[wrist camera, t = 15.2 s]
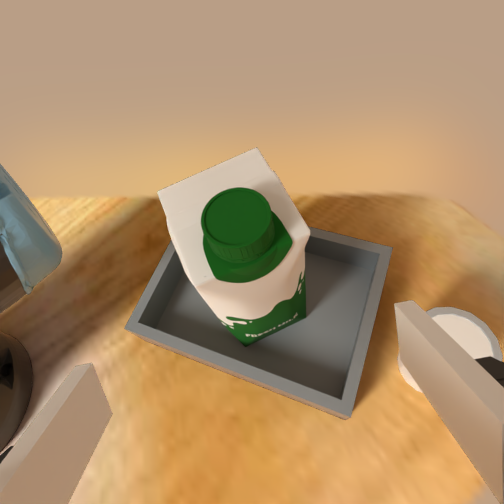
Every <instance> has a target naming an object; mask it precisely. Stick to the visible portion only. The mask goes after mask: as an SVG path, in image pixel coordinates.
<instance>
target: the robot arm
mask: <svg viewBox="0 0 504 504" xmlns="http://www.w3.org/2000/svg"><path fill="white" fill-rule="evenodd" d="M61 258H62V248H61V245H60V243H59V241H58V239H57V237H56V236H55V234H54V233H53V231H52V230H51V228H50V227H49V225H48V224H47V222H46V221H45V220H44V218H43V217H42V216H41V214H40V213H39V212H38V210H37V209H36V208H35V206H34V205H33V204H32V202H31V201H30V200H29V198H28V197H27V196H26V195H25V193H24V192H23V191H22V190H21V188H20V187H19V186H18V185H17V183H16V182H15V181H14V180H13V178H12V177H11V176H10V175H9V173H8V172H7V171H6V170H5V169H4V168H3V166H2V165H1V164H0V313H2V312H3V311H4V310H6V309H7V308H8V307H10V306H11V305H12V304H14V303H15V302H16V301H18V300H19V299H20V298H22V297H23V296H24V295H26V294H30V293H31V291H32V290H33V287H34V286H35V285H37V284H38V283H39V282H40V281H41V280H43V279H44V278H45V277H46V276H47V275H49V274H50V273H51V272H52V271H53V270H55V269H56V268H57V266H58V265H59V264H60V262H61ZM394 306H395V315H396V325H397V334H398V344H399V353H400V360H401V362H402V363H403V365H404V366H405V367H406V369H407V370H408V372H409V373H410V375H411V376H412V377H413V379H414V380H415V382H416V383H417V385H418V386H419V388H420V389H421V390H422V392H423V393H424V395H425V396H426V398H427V399H428V400H429V402H430V403H431V405H432V406H433V408H434V409H435V411H436V412H437V413H438V415H439V416H440V418H441V419H442V421H443V422H444V424H445V425H446V426H447V428H448V429H449V431H450V432H451V434H452V435H453V436H454V438H455V439H456V441H457V442H458V444H459V445H460V447H461V448H462V449H463V451H464V452H465V454H466V455H467V457H468V458H469V460H470V461H471V462H472V464H473V465H474V467H475V468H476V470H477V471H478V472H479V474H480V475H481V477H482V478H483V480H484V481H485V483H486V484H487V485H488V487H489V488H490V490H491V491H492V493H493V494H494V496H495V497H496V498H497V500H498V501H499V503H500V504H504V362H502V361H499V360H497V359H495V358H493V357H491V356H489V357H483V358H478V359H473V358H472V357H471V356H470V355H469V354H468V353H467V352H466V351H465V350H464V349H463V348H462V347H461V346H460V345H459V344H458V343H457V342H456V341H455V340H454V339H453V338H452V337H451V336H450V335H449V334H448V333H446V332H445V331H444V330H443V329H442V328H441V327H440V326H439V325H438V324H437V323H436V322H435V321H434V320H433V319H432V318H431V317H430V316H429V315H428V314H427V313H426V312H425V311H424V310H423V309H422V308H421V307H420V306H419V305H417V304H416V303H415V302H414V301H413V300H410V301H404V302H399V303H394ZM31 389H32V367H31V362H30V359H29V356H28V354H27V352H26V350H25V348H24V347H23V346H22V344H21V343H20V342H19V341H18V340H16V339H15V338H14V337H12V336H10V335H8V334H5V333H2V332H0V451H1V450H2V449H3V448H4V446H5V445H6V444H7V443H8V441H9V440H10V439H11V437H12V436H13V434H14V433H15V431H16V430H17V428H18V426H19V424H20V423H21V421H22V418H23V416H24V414H25V412H26V409H27V406H28V403H29V399H30V395H31ZM112 414H113V413H112V411H111V408H110V406H109V404H108V401H107V399H106V396H105V394H104V391H103V389H102V386H101V384H100V381H99V379H98V376H97V374H96V371H95V369H94V366H93V364H92V363H88V364H83V365H78V366H75V367H74V368H73V370H72V371H71V372H70V374H69V375H68V376H67V378H66V379H65V380H64V382H63V383H62V384H61V385H60V387H59V388H58V389H57V391H56V392H55V393H54V395H53V396H52V397H51V398H50V400H49V401H48V402H47V404H46V405H45V406H44V408H43V409H42V410H41V411H40V413H39V414H38V415H37V417H36V418H35V419H34V421H33V422H32V423H31V425H30V426H29V427H28V428H27V430H26V431H25V432H24V434H23V435H22V436H21V438H20V439H19V440H18V441H17V443H16V444H15V445H14V446H11V447H9V448H8V449H7V450H6V451H5V452H4V453H3V454H1V455H0V504H68V503H69V501H70V499H71V497H72V495H73V493H74V491H75V489H76V487H77V485H78V483H79V481H80V479H81V476H82V474H83V472H84V470H85V468H86V466H87V464H88V462H89V460H90V458H91V456H92V454H93V452H94V450H95V448H96V446H97V444H98V442H99V440H100V438H101V436H102V434H103V432H104V430H105V428H106V426H107V424H108V422H109V420H110V418H111V416H112Z"/></svg>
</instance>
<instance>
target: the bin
mask: <svg viewBox="0 0 504 504" xmlns="http://www.w3.org/2000/svg"><path fill="white" fill-rule="evenodd" d="M308 228H309V229H310V233H311V234H310V236H309V239H308V241H307V243H306V246H305V285H306V318H305V319H303V320H301V321H299V322H297V323H294V324H292V325H290V326H288V327H286V328H284V329H282V330H280V331H278V332H276V333H274V334H272V335H270V336H268V337H266V338H264V339H261V340H259V341H257V342H255V343H253V344H251V345H249V346H247V347H245V346H244V345H243V344H242V343H241V342H240V341H239V340H238V339H237V338H236V337H235V336H234V335H233V334H232V333H231V332H230V331H229V330H228V329H227V328H226V327H225V326H224V325H223V323H222V322H221V321H220V320H219V318H218V317H217V316H216V314H215V313H214V312H213V311H212V309H211V308H210V307H209V306H208V304H207V303H206V302H205V300H204V299H203V298H202V297H201V295H200V294H199V293H198V291H197V290H196V288H195V287H194V285H193V284H192V283H191V281H190V280H189V278H188V277H187V275H186V273H185V271H184V268H183V266H182V263H181V261H180V258H179V256H178V254H177V252H176V249H175V247H174V244H173V242H172V239H171V241H170V243H169V245H168V247H167V249H166V251H165V252H164V254H163V256H162V258H161V260H160V262H159V264H158V266H157V268H156V269H155V271H154V273H153V275H152V277H151V279H150V281H149V283H148V285H147V287H146V288H145V290H144V292H143V294H142V296H141V298H140V300H139V302H138V304H137V305H136V307H135V309H134V311H133V313H132V315H131V317H130V319H129V321H128V322H127V324H126V326H125V328H124V329H126V330H128V331H129V332H131V333H133V334H134V335H136V336H138V337H140V338H141V339H143V340H145V341H147V342H150V343H152V344H155V345H157V346H160V347H162V348H165V349H167V350H170V351H172V352H175V353H177V354H180V355H182V356H185V357H188V358H190V359H193V360H195V361H198V362H200V363H203V364H205V365H208V366H210V367H213V368H215V369H218V370H220V371H223V372H225V373H228V374H230V375H233V376H235V377H238V378H241V379H243V380H246V381H248V382H251V383H253V384H256V385H258V386H261V387H263V388H266V389H268V390H271V391H273V392H276V393H278V394H281V395H283V396H286V397H288V398H291V399H294V400H296V401H299V402H301V403H304V404H306V405H309V406H311V407H314V408H316V409H319V410H321V411H324V412H326V413H329V414H331V415H334V416H336V417H339V418H341V419H344V420H346V419H348V418H351V414H352V410H353V406H354V402H355V398H356V394H357V390H358V386H359V382H360V378H361V374H362V370H363V366H364V362H365V358H366V354H367V350H368V346H369V342H370V338H371V334H372V330H373V326H374V322H375V318H376V314H377V310H378V306H379V302H380V298H381V293H382V289H383V285H384V281H385V277H386V273H387V269H388V265H389V261H390V257H391V253H392V249H393V248H392V247H388V246H384V245H381V244H377V243H373V242H369V241H365V240H361V239H357V238H353V237H349V236H345V235H341V234H337V233H333V232H329V231H325V230H321V229H317V228H313V227H309V226H308Z"/></svg>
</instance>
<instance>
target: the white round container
mask: <svg viewBox="0 0 504 504" xmlns="http://www.w3.org/2000/svg"><path fill="white" fill-rule="evenodd" d="M426 313H427V314H428V315H429V316H430V317H431V318H432V319H433V320H434V321H435V322H436V323H437V324H438V325H439V326H440V327H441V328H442V329H443V330H444V331H445V332H446V333H448V334H449V335H450V336H451V337H452V338H453V339H454V340H455V341H456V342H457V343H458V344H459V345H460V346H461V347H462V348H463V349H464V350H465V351H466V352H467V353H468V354H469V355H470V356H471V357H472V358H473V359H478V358H483V357H489V356H491V357H493V358H495V359H497V360H499V361H502V357H503V356H502V352H501V349H500V346H499V342H498V339H497V337H496V336H495V335H494V334H493V332H492V331H491V330H490V328H489V327H488V326H487V324H486V323H485V322H483V321H482V320H480V319H479V318H477V317H476V316H475V315H473V314H472V313H470V312H467V311H464V310H461V309H458V308H454V307H435V308H433V309H431V310H428V311H426ZM397 360H398V366H399V371H400V372H401V374H402V376H403V378H404V379H405V381H406V382H407V383H408V384H409V385H411V386H412V387H413V388H414V389H415V390H417V391H420V392H422V390H421V389H420V388H419V386H418V385H417V383H416V382H415V380H414V379H413V377H412V376H411V375H410V373H409V372H408V370H407V369H406V367H405V366H404V365H403V363H402V362H401V360H400V353H398V357H397ZM422 393H423V392H422Z"/></svg>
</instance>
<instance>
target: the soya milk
mask: <svg viewBox="0 0 504 504" xmlns="http://www.w3.org/2000/svg"><path fill="white" fill-rule="evenodd" d="M157 193H158V196H159V199H160V201H161V204H162V207H163V209H164V212H165V215H166V217H167V219H166V220H167V226H168V230H169V234H170V237H171V239H172V242H173V244H174V247H175V249H176V252H177V254H178V256H179V258H180V261H181V263H182V266H183V268H184V271H185V273H186V275H187V277H188V278H189V280H190V281H191V283H192V284H193V285H194V287H195V288H196V290H197V291H198V293H199V294H200V295H201V297H202V298H203V299H204V300H205V302H206V303H207V304H208V306H209V307H210V308H211V309H212V311H213V312H214V313H215V314H216V316H217V317H218V318H219V320H220V321H221V322H222V323H223V325H224V326H225V327H226V328H227V329H228V330H229V331H230V332H231V333H232V334H233V335H234V336H235V337H236V338H237V339H238V340H239V341H240V342H241V343H242V344H243V345H244V346H245V347H247V346H249V345H251V344H253V343H255V342H257V341H259V340H261V339H264V338H266V337H268V336H270V335H272V334H274V333H276V332H278V331H280V330H282V329H284V328H286V327H288V326H290V325H292V324H294V323H297V322H299V321H301V320H303V319H305V318H306V285H305V246H306V243H307V241H308V239H309V236H310V234H311V233H310V229H309V228H308V226H307V224H306V223H305V221H304V219H303V218H302V216H301V214H300V213H299V211H298V210H297V208H296V206H295V205H294V203H293V201H292V200H291V198H290V196H289V195H288V193H287V192H286V190H285V188H284V187H283V184H282V183H281V181H280V179H279V177H278V176H277V174H276V173H275V172H274V171H272V170H271V168H270V167H269V165H268V164H267V162H266V161H265V159H264V157H263V156H262V154H261V153H260V151H259V149H258V148H257V147H256V148H254V149H252V150H249V151H247V152H245V153H242V154H240V155H238V156H236V157H233V158H231V159H229V160H227V161H224V162H222V163H220V164H218V165H215V166H213V167H211V168H208V169H206V170H204V171H202V172H200V173H198V174H195V175H193V176H190V177H188V178H186V179H184V180H182V181H179V182H177V183H175V184H173V185H170V186H168V187H166V188H163V189H161V190H159V191H157Z"/></svg>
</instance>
